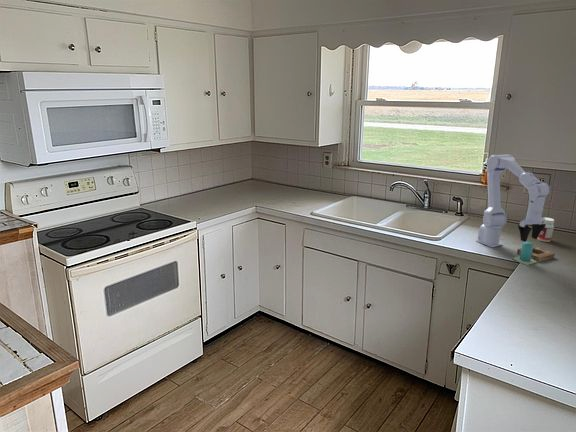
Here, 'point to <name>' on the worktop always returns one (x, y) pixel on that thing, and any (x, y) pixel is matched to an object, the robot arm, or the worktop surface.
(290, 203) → the worktop surface
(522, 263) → the rubber mat
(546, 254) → the header block
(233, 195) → the worktop surface
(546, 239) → the pill bottle
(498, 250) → the worktop surface
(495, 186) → the robot arm
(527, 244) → the teal cylinder
